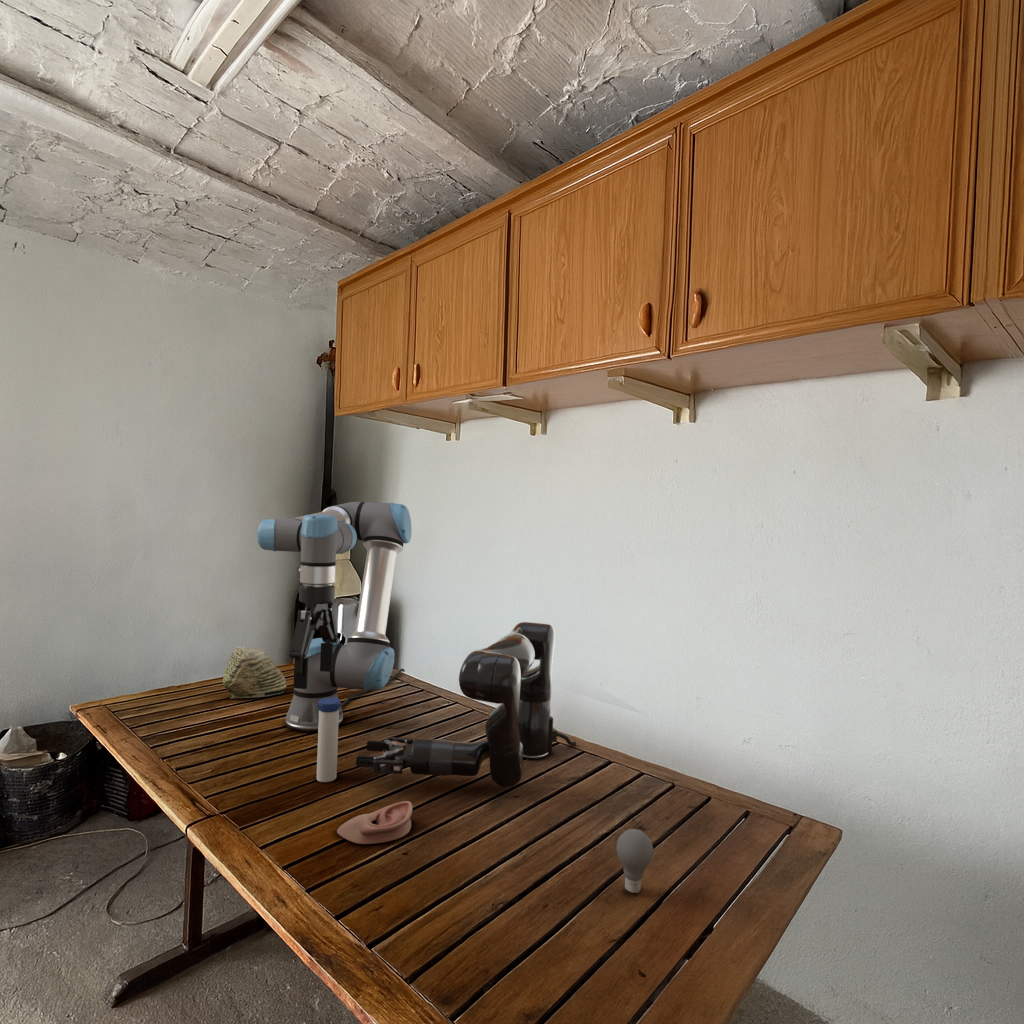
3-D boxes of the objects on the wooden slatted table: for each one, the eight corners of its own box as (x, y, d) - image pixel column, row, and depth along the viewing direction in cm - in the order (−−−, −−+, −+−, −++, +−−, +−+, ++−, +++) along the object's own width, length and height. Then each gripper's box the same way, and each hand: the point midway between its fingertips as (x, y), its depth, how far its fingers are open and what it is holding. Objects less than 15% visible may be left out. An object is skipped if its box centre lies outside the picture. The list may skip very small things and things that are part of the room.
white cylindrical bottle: (340, 776, 144) (343, 701, 144) (328, 783, 140) (331, 707, 140) (324, 772, 146) (327, 698, 145) (312, 779, 141) (315, 703, 141)
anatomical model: (329, 818, 117) (357, 790, 128) (328, 839, 117) (356, 810, 128) (397, 828, 114) (419, 799, 126) (396, 850, 114) (418, 819, 126)
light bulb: (610, 879, 108) (613, 822, 108) (644, 879, 109) (647, 822, 109) (619, 902, 102) (622, 840, 102) (655, 901, 103) (658, 840, 103)
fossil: (218, 695, 195) (220, 647, 195) (278, 685, 208) (279, 640, 207) (228, 703, 189) (230, 653, 188) (289, 692, 201) (290, 645, 201)
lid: (344, 707, 144) (345, 699, 144) (331, 713, 139) (331, 705, 139) (327, 703, 146) (327, 696, 146) (313, 709, 141) (313, 702, 141)
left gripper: (323, 576, 153) (320, 663, 154) (274, 591, 129) (270, 694, 129) (353, 578, 153) (350, 666, 153) (309, 593, 128) (305, 697, 128)
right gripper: (439, 728, 149) (370, 725, 149) (429, 753, 134) (353, 748, 135) (437, 760, 149) (369, 756, 149) (427, 788, 134) (352, 783, 135)
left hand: (313, 679), depth 141 cm, fingers open, 13 cm apart
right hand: (362, 752), depth 142 cm, fingers open, 8 cm apart
